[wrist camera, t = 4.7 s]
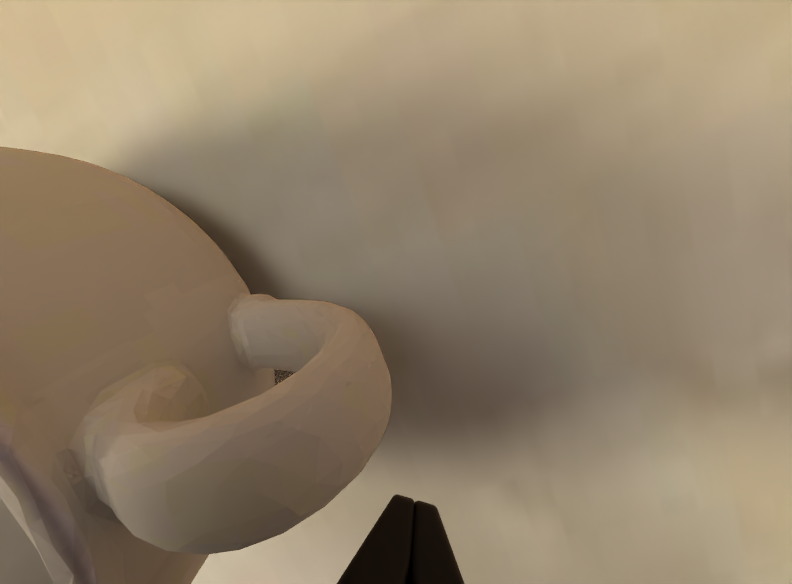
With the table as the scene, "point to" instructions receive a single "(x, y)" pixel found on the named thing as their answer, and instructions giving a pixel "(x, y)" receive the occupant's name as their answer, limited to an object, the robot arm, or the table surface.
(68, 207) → the teacup
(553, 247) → the table surface
